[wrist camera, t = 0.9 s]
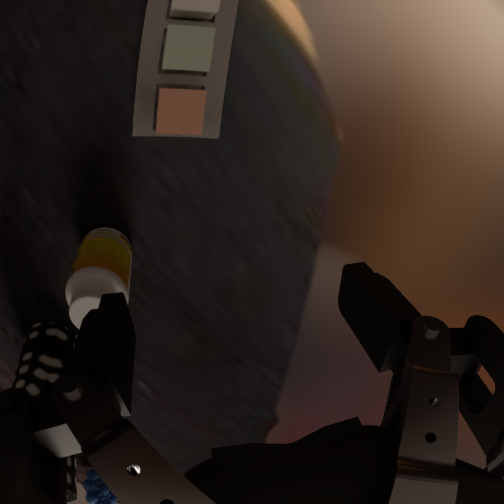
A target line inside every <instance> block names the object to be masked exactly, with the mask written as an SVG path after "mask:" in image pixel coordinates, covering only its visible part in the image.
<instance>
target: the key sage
mask: <svg viewBox="0 0 504 504" xmlns="http://www.w3.org/2000/svg"><path fill="white" fill-rule="evenodd" d="M215 31H216V28H209V27H198V26H185V25H168V29H167V36H166V42H165V49H164V57H163V65H162V70H167V71H187V72H202V73H203V72H209V71H210V64H211V57H212V50H213V44H214V37H215Z"/></svg>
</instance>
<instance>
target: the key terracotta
mask: <svg viewBox="0 0 504 504" xmlns="http://www.w3.org/2000/svg"><path fill="white" fill-rule="evenodd" d="M206 94H207V91H206V90H202V89H191V88H171V87H160V91H159V101H158V112H157V125H156V134H185V135H202V128H203V119H204V111H205V102H206Z"/></svg>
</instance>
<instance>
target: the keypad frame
mask: <svg viewBox="0 0 504 504" xmlns="http://www.w3.org/2000/svg"><path fill="white" fill-rule="evenodd" d="M238 1H239V0H221V1H220V7H219V11H218V12H217V13H216V14H215V15H214V16H213V18H212V19H211V20H205V19H194V18H180V17H170V12H171V5H172V0H148V4H147V9H146V15H145V21H144V27H143V34H142V41H141V48H140V55H139V64H138V73H137V82H136V93H135V105H134V119H133V136H173V137H199V138H217V139H219V131H220V123H221V115H222V107H223V100H224V92H225V85H226V78H227V71H228V64H229V57H230V51H231V44H232V38H233V31H234V25H235V19H236V13H237V7H238ZM168 25H185V26H198V27H209V28H216V31H215V37H214V44H213V50H212V57H211V64H210V71H209V72H203V73H202V72H187V71H167V70H162V65H163V57H164V49H165V42H166V36H167V29H168ZM160 87H171V88H191V89H202V90H206V91H207V94H206V102H205V111H204V119H203V128H202V135H185V134H156V125H157V112H158V101H159V91H160Z"/></svg>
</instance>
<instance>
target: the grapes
mask: <svg viewBox="0 0 504 504" xmlns="http://www.w3.org/2000/svg"><path fill="white" fill-rule="evenodd" d="M86 477H87V479H86V480H85V481H84V483H83V487H84V489H85V490H86V493H87V495H86V500H87V502H89V503H90V504H115V503H116V501H117V498H116V497H115V496H114V494H113V493H112V492H111V491H110V489H109V488H108V487H107V486H106V484H105V483H104V482H103V480H102V479H101V478H100V476H99V475H98V474H97V472H96V471H95V470H89V471H87V473H86Z"/></svg>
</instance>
